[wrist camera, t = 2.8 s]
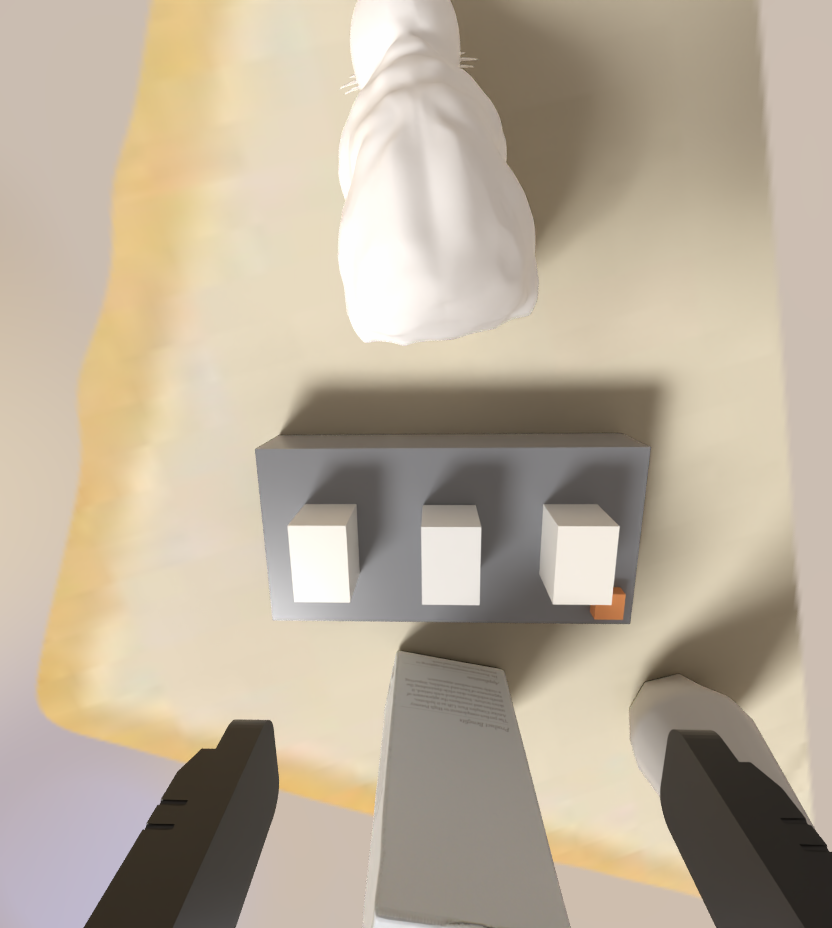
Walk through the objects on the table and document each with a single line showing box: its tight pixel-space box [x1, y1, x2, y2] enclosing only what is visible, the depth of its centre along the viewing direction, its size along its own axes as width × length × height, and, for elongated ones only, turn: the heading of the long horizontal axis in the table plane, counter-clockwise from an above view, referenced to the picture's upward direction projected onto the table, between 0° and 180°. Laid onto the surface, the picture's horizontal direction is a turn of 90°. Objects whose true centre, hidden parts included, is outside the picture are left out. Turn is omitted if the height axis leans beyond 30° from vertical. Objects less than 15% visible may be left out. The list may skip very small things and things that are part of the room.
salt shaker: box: [629, 674, 816, 831], centre depth 19 cm, size 6×6×13 cm
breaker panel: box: [255, 433, 651, 624], centre depth 20 cm, size 8×16×5 cm, turn 91°
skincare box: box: [363, 651, 571, 928], centre depth 19 cm, size 6×4×12 cm
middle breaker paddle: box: [421, 505, 481, 605], centre depth 18 cm, size 3×2×2 cm
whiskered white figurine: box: [338, 0, 539, 346], centre depth 15 cm, size 6×8×12 cm
